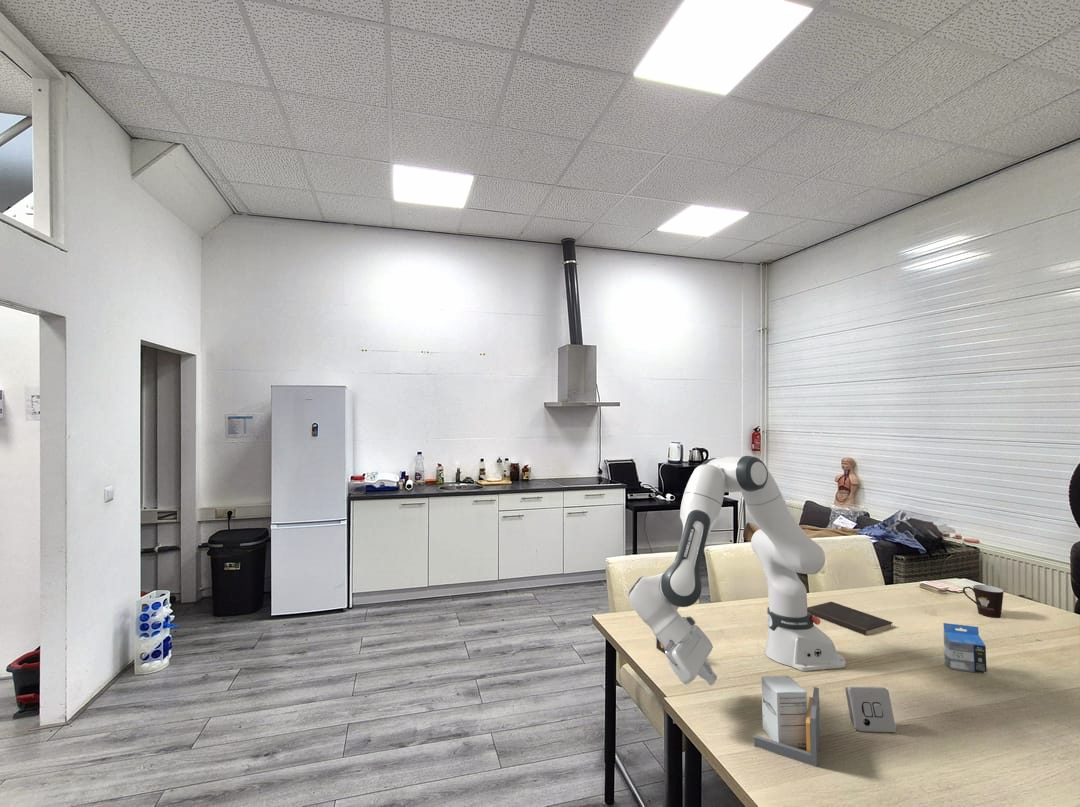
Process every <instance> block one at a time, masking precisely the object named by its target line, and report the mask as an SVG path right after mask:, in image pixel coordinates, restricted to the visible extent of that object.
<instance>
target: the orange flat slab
mask: <svg viewBox="0 0 1080 807" xmlns="http://www.w3.org/2000/svg"><path fill="white" fill-rule="evenodd" d="M812 699H813V696H812V697H811V696H809V698H808V702H807V717H806V745H807V747H806V751H807V752H810V753H811V733H810V714H811V706H812Z"/></svg>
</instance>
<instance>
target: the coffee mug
mask: <svg viewBox="0 0 1080 807" xmlns="http://www.w3.org/2000/svg"><path fill="white" fill-rule="evenodd" d="M966 589H970V590H972V591H973V593H974V598H975V600H974V599H973V598H972V597H970V596H969V595H968V594H967V592H966ZM962 592H963V594H964V596H965V597H967V598H968V599H969V600H970V601H972V602H973V603H974V604H976V609H977V612H978V614H979V615H981V616H984V617H986V618H987V617H988V618H991V619H992V618H993V619H1000V618H1002V610H1003V602H1004V590H1003V589H1002V588H999V587H996V586H992V585H987V584H986V585H985V584H973V585H972V587H971V586H964V587H962Z"/></svg>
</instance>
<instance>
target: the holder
mask: <svg viewBox="0 0 1080 807" xmlns="http://www.w3.org/2000/svg"><path fill="white" fill-rule="evenodd" d="M812 698H813V699H812V706H811V714H810V733H811V753H810V752H807V750H804V749H801V748H799V747H796V748H794V747H791V746H788V745H785V744H782V743H779V742H776V741H773V740H772V739H769V738H766V737H762V736H759V735H757V734H754V736H753V743H754V744H753V746H754V748H755V747H756V748H759V749H761V748H762V749H761V750H764V749H765V751H767V750H768V751H769V752H770V751H771V753H774V754H776V753H777V754H776V755H781V756H783V757H786V758H788V759H792V760H795V761H798V762H801V763H804V764H808V765H810V766H813V767H815V768H816V767H818V760H819V759H818V758H819V749H820V748H819V746H820V737H821V719H820V718H821V715H820V714H821V712H820V711H821V710H820V709H821V708H820V688H819V687H817V686H816V687H815V686H814V687H813V694H812ZM768 751H767V752H768Z"/></svg>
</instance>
